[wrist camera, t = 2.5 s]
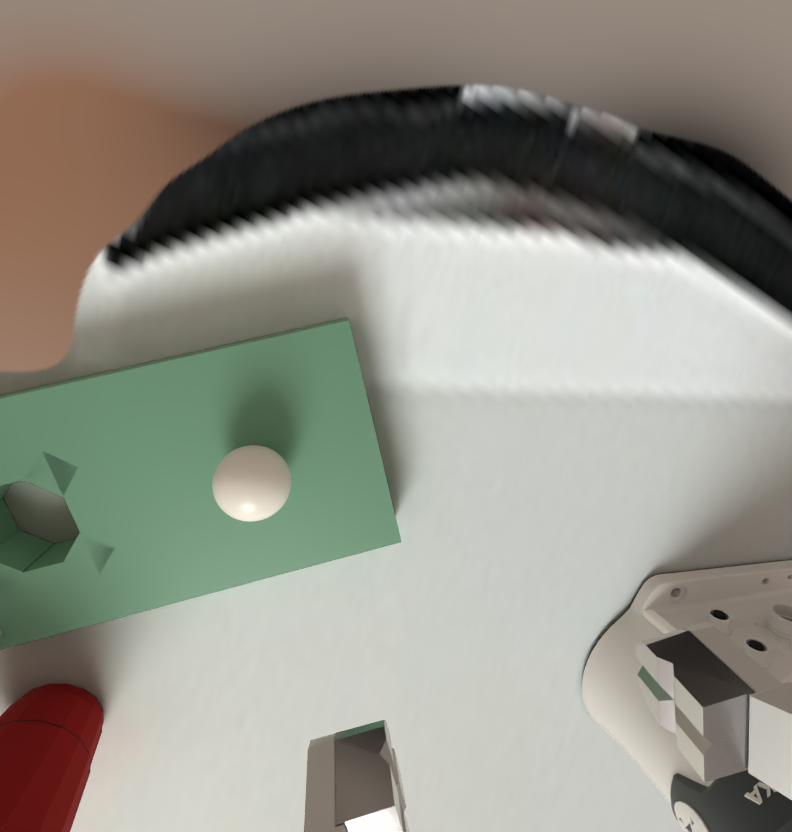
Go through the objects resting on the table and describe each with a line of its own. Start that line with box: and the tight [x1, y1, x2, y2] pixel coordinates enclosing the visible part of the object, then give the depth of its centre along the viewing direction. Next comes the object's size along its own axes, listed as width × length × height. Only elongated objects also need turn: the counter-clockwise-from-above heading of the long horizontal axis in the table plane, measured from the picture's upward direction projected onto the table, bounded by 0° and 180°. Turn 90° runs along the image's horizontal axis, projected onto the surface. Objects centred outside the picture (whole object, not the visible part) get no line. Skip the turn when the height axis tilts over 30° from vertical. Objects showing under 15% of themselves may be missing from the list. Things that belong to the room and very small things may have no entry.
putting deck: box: [0, 318, 401, 650], centre depth 21 cm, size 26×16×15 cm, turn 102°
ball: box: [212, 445, 292, 522], centre depth 24 cm, size 4×4×4 cm
